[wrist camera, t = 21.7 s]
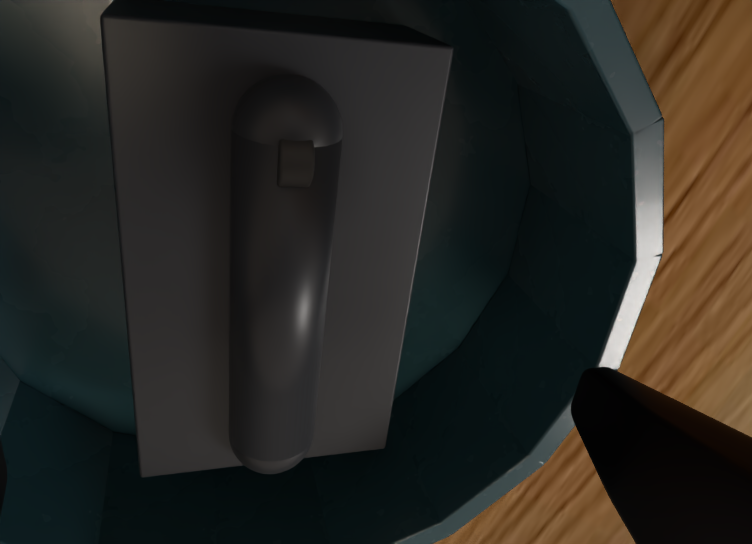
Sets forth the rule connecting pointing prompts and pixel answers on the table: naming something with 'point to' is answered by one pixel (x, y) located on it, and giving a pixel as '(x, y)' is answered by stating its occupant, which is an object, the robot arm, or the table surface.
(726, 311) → the table surface
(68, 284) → the pot
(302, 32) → the dark grey block
